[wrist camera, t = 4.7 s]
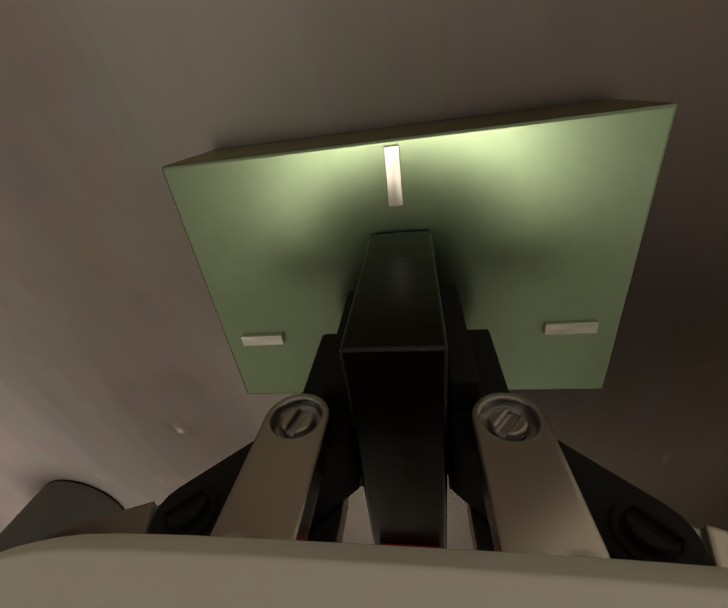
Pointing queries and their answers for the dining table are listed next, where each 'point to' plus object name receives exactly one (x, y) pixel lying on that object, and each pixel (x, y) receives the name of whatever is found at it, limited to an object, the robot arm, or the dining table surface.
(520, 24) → the dining table surface
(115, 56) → the dining table surface
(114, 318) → the dining table surface
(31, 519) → the bottle
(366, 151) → the clamp panel
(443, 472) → the black block
